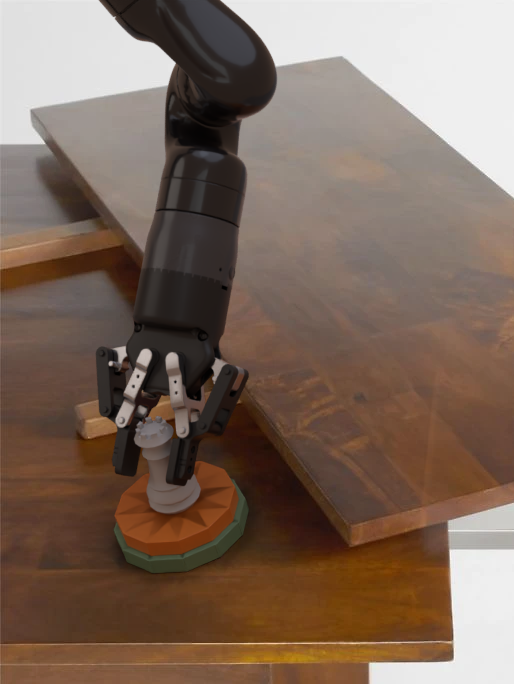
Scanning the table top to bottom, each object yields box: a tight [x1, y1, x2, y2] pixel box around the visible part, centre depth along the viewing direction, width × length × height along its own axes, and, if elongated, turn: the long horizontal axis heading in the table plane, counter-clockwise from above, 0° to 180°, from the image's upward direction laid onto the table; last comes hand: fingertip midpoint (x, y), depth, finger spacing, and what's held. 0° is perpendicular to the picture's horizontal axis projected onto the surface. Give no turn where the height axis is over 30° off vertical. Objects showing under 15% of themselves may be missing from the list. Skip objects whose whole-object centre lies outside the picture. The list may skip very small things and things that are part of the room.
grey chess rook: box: [134, 415, 201, 514], centre depth 114 cm, size 4×4×8 cm
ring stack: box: [112, 460, 250, 574], centre depth 117 cm, size 11×11×3 cm
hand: (150, 479), depth 113 cm, fingers open, 4 cm apart
